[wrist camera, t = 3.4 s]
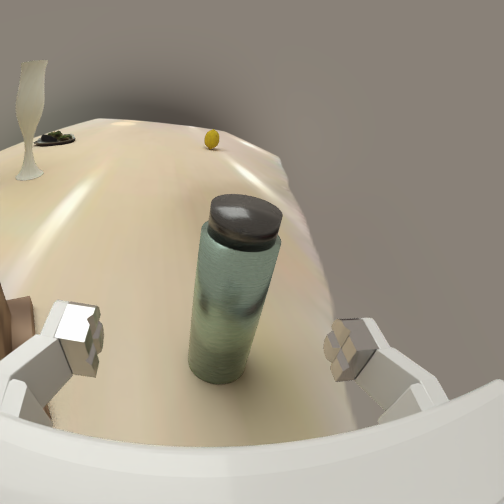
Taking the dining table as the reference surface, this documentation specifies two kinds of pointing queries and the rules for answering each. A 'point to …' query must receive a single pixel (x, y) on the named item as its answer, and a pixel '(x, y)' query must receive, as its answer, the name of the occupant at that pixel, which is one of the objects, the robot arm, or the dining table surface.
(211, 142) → the lemon
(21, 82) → the vase
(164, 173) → the dining table surface
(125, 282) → the dining table surface
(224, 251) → the flask
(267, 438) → the dining table surface
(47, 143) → the salad plate
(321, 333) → the dining table surface
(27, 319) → the u rest
